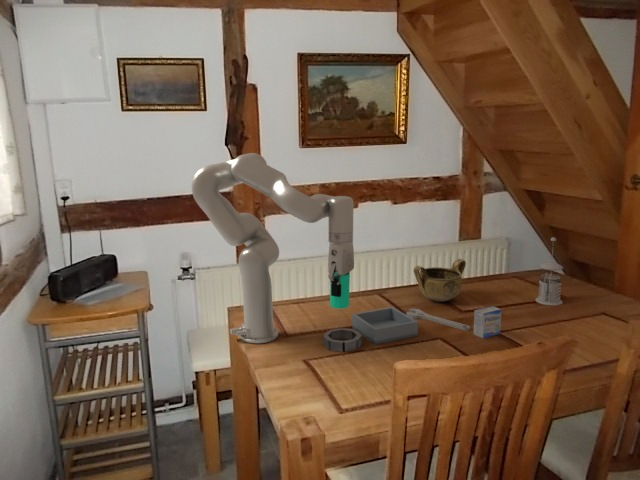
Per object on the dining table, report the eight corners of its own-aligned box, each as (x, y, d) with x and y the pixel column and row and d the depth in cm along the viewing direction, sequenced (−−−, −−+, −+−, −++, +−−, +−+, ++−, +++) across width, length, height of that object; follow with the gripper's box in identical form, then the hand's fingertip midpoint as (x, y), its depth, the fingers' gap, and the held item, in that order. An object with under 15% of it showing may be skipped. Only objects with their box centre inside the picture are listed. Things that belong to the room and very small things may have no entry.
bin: (374, 344, 178) (374, 329, 177) (352, 327, 193) (351, 314, 192) (417, 335, 185) (417, 321, 183) (392, 320, 199) (392, 306, 198)
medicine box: (482, 339, 181) (483, 313, 179) (472, 334, 185) (473, 309, 183) (500, 334, 185) (502, 309, 183) (490, 329, 188) (492, 305, 186)
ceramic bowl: (449, 289, 232) (450, 254, 228) (476, 301, 216) (478, 263, 213) (403, 297, 223) (404, 261, 219) (428, 310, 208) (429, 271, 204)
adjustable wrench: (471, 330, 190) (471, 325, 189) (460, 335, 186) (460, 330, 185) (413, 311, 208) (413, 307, 208) (402, 316, 204) (402, 311, 203)
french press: (564, 299, 217) (570, 236, 211) (559, 308, 207) (564, 242, 202) (538, 295, 222) (542, 233, 216) (531, 304, 212) (535, 239, 207)
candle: (352, 306, 175) (353, 269, 172) (335, 309, 172) (336, 272, 170) (343, 301, 180) (343, 265, 178) (326, 303, 178) (326, 267, 175)
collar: (333, 354, 172) (333, 345, 171) (318, 340, 182) (318, 332, 182) (367, 347, 176) (367, 338, 176) (350, 334, 187) (350, 326, 186)
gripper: (340, 244, 163) (339, 303, 167) (362, 232, 177) (361, 287, 182) (317, 241, 166) (317, 299, 170) (341, 230, 181) (340, 284, 185)
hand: (340, 292), depth 176 cm, fingers closed on candle, 5 cm apart
